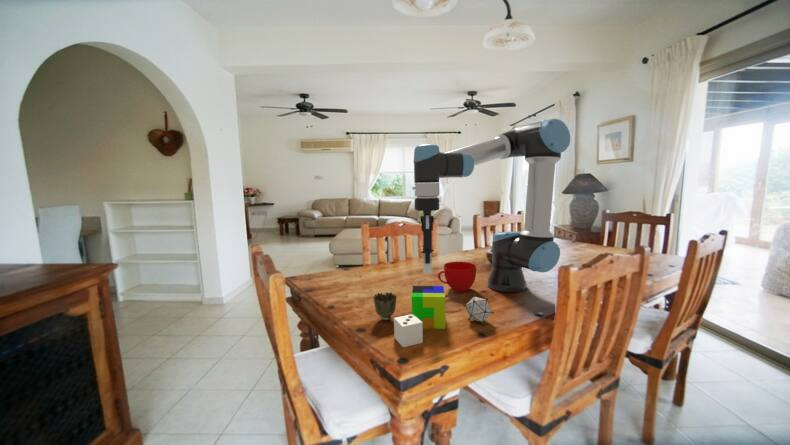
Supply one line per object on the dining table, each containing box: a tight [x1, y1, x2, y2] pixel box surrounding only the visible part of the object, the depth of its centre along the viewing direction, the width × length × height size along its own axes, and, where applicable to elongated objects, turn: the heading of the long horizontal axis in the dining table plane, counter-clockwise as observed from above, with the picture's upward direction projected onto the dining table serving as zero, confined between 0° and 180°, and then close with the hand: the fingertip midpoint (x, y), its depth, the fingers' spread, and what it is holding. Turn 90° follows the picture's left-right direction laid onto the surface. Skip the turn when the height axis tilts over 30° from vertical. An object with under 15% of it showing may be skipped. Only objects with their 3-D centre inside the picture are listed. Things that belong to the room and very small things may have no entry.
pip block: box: [393, 313, 424, 348], centre depth 86 cm, size 6×6×6 cm
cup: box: [373, 292, 397, 322], centre depth 99 cm, size 8×7×8 cm
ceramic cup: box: [437, 261, 477, 293], centre depth 125 cm, size 13×17×10 cm
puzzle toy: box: [411, 285, 446, 330], centre depth 98 cm, size 10×10×10 cm
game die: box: [462, 293, 495, 326], centre depth 97 cm, size 9×8×10 cm
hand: (427, 272), depth 96 cm, fingers closed
